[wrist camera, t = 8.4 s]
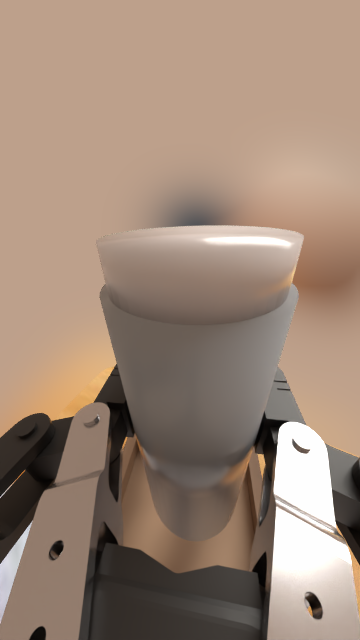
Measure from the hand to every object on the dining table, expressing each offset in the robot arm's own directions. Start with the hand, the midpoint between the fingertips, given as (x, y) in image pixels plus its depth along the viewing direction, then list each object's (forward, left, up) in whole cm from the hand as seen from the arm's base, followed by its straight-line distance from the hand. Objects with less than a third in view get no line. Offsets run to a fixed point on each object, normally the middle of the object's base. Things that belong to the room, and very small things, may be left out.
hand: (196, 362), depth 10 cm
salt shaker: (0, -3, -7) cm, 7 cm away
